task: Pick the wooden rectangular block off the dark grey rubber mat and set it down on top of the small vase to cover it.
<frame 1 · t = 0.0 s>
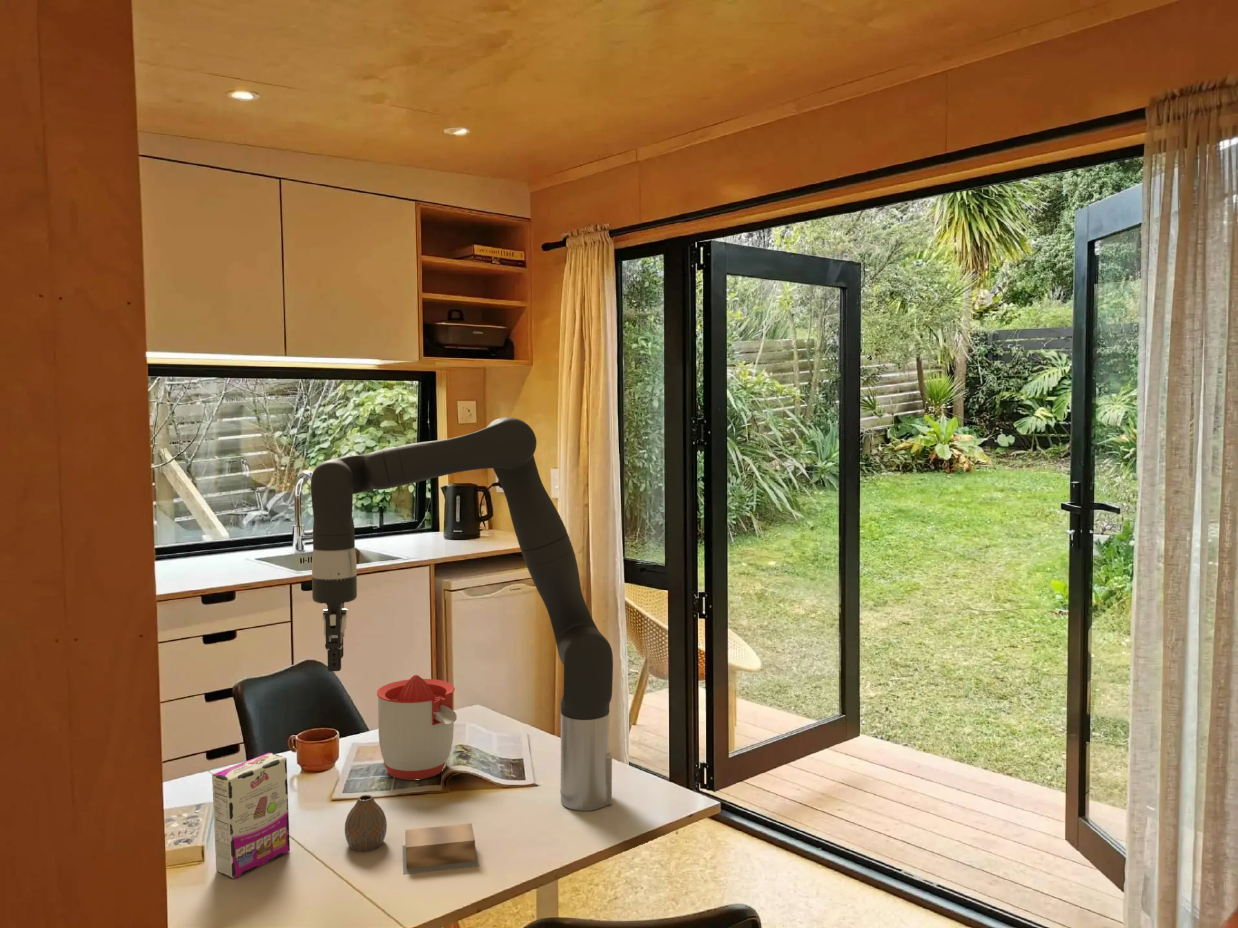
hand: (335, 664, 168), 29 cm above the table, tool pointing down, fingers open, 8 cm apart
vase: (366, 848, 162), on the table
wooden rectangular block: (439, 855, 158), point 1 cm above the table, touching rubber mat
rubber mat: (439, 858, 158), on the table
candy bar box: (252, 863, 157), on the table
citrus juicer: (419, 772, 195), on the table
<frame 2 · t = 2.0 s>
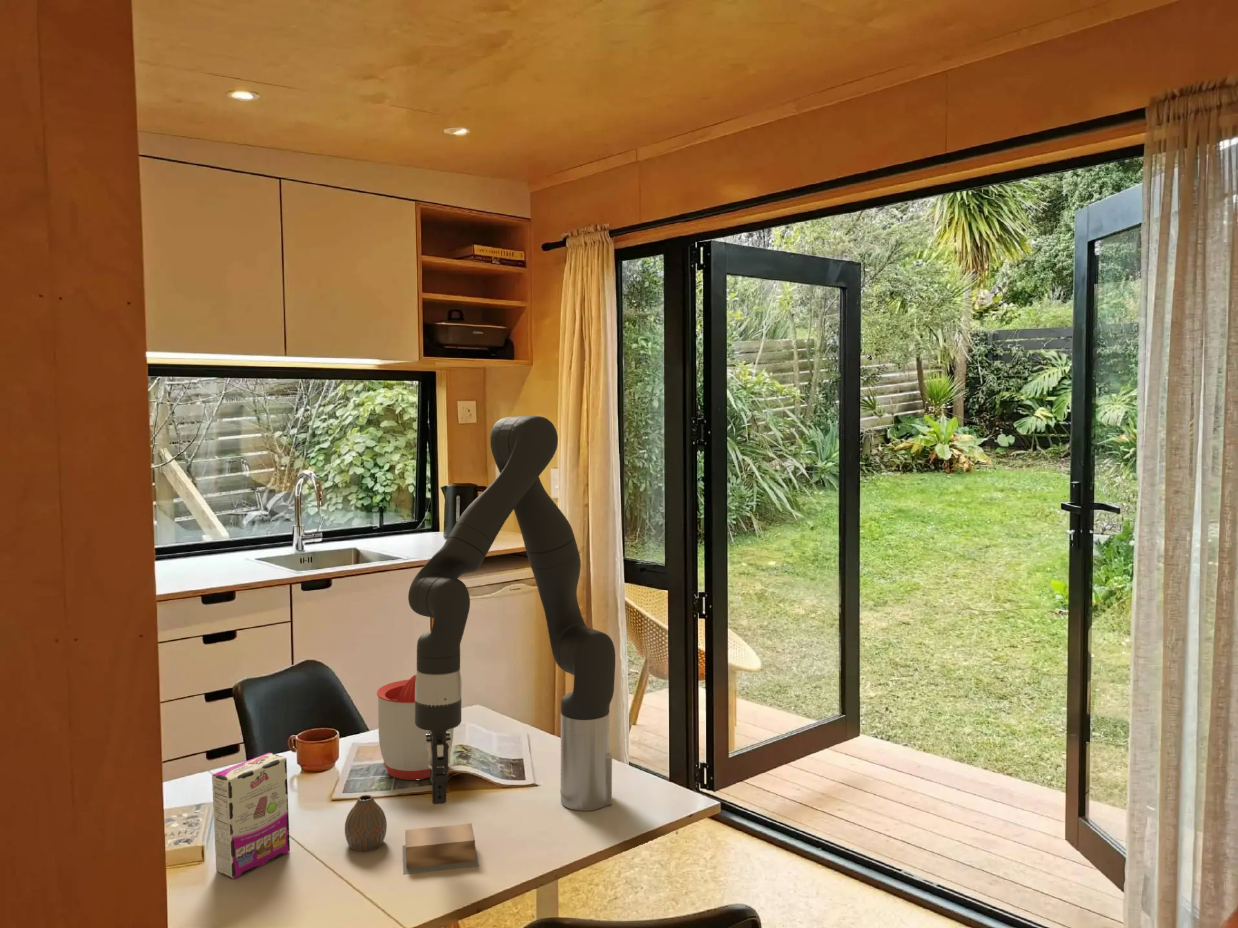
hand: (437, 792, 157), 11 cm above the table, tool pointing down, fingers open, 8 cm apart
nothing on the table moved.
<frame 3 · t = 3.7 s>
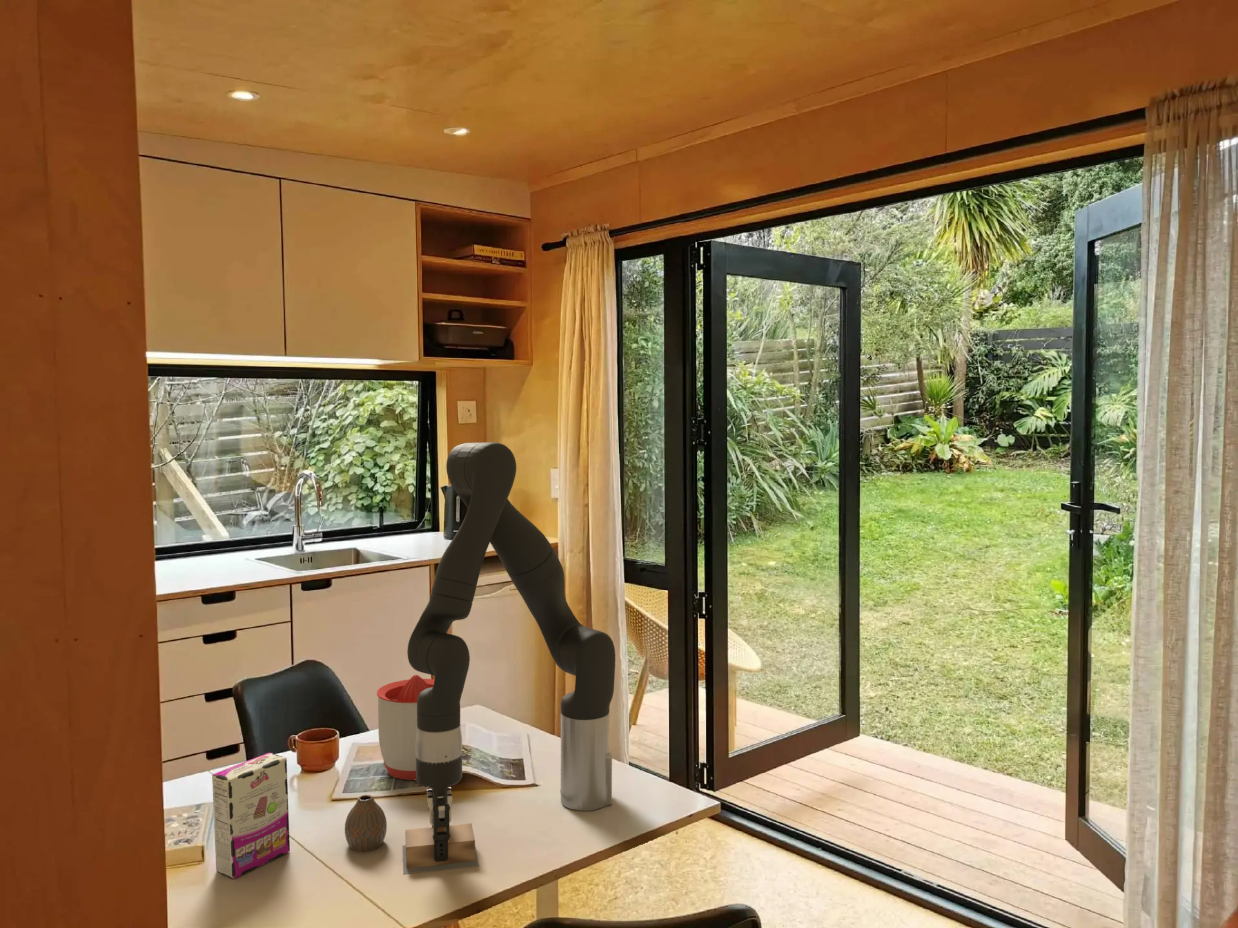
hand: (439, 850, 158), 1 cm above the table, tool pointing down, fingers closed on wooden rectangular block, 6 cm apart
wooden rectangular block: (439, 855, 158), point 1 cm above the table, touching gripper, rubber mat
everything else where it was.
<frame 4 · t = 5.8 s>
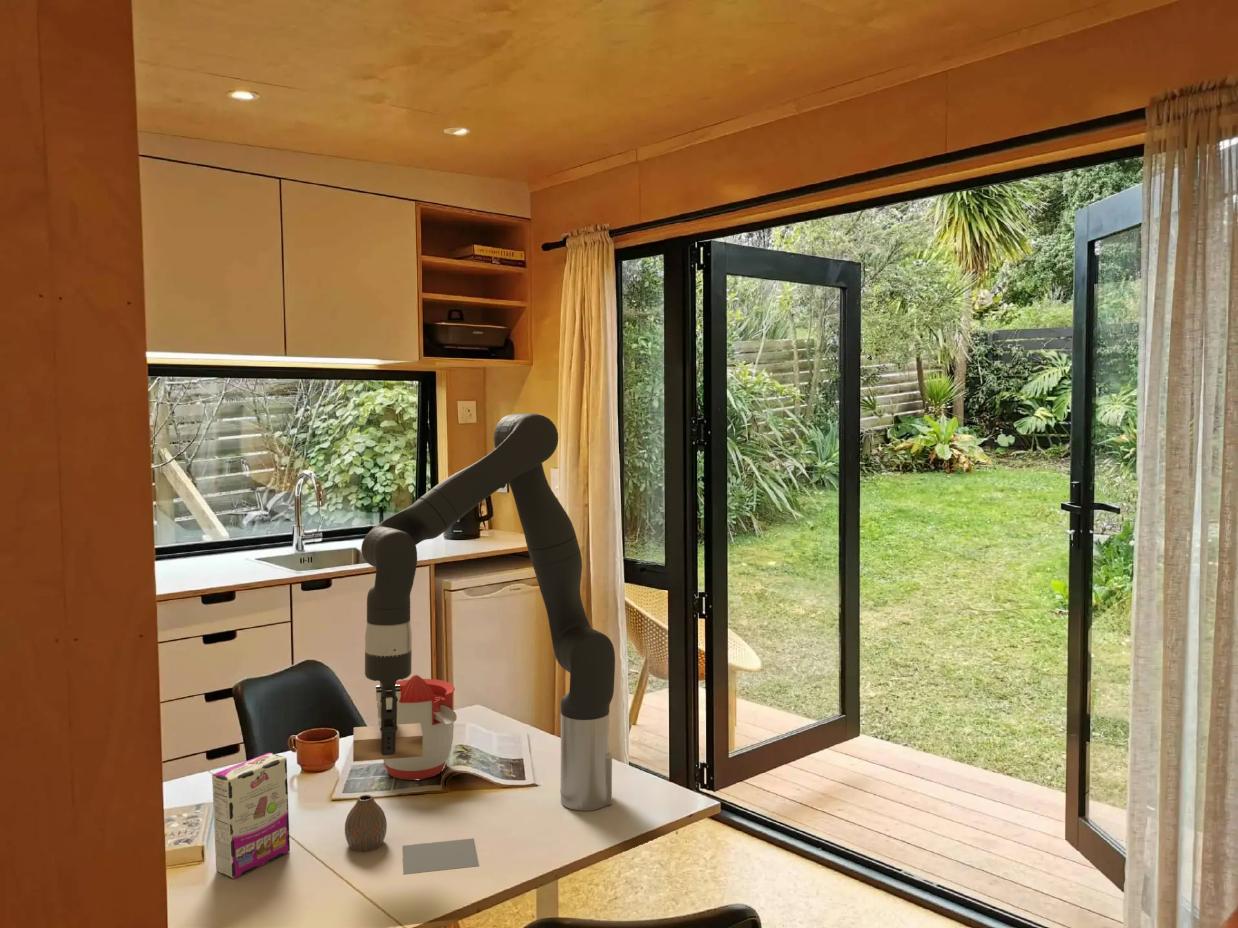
hand: (387, 746, 159), 18 cm above the table, tool pointing down, fingers closed on wooden rectangular block, 6 cm apart
wooden rectangular block: (387, 751, 159), point 17 cm above the table, touching gripper
everything else where it was.
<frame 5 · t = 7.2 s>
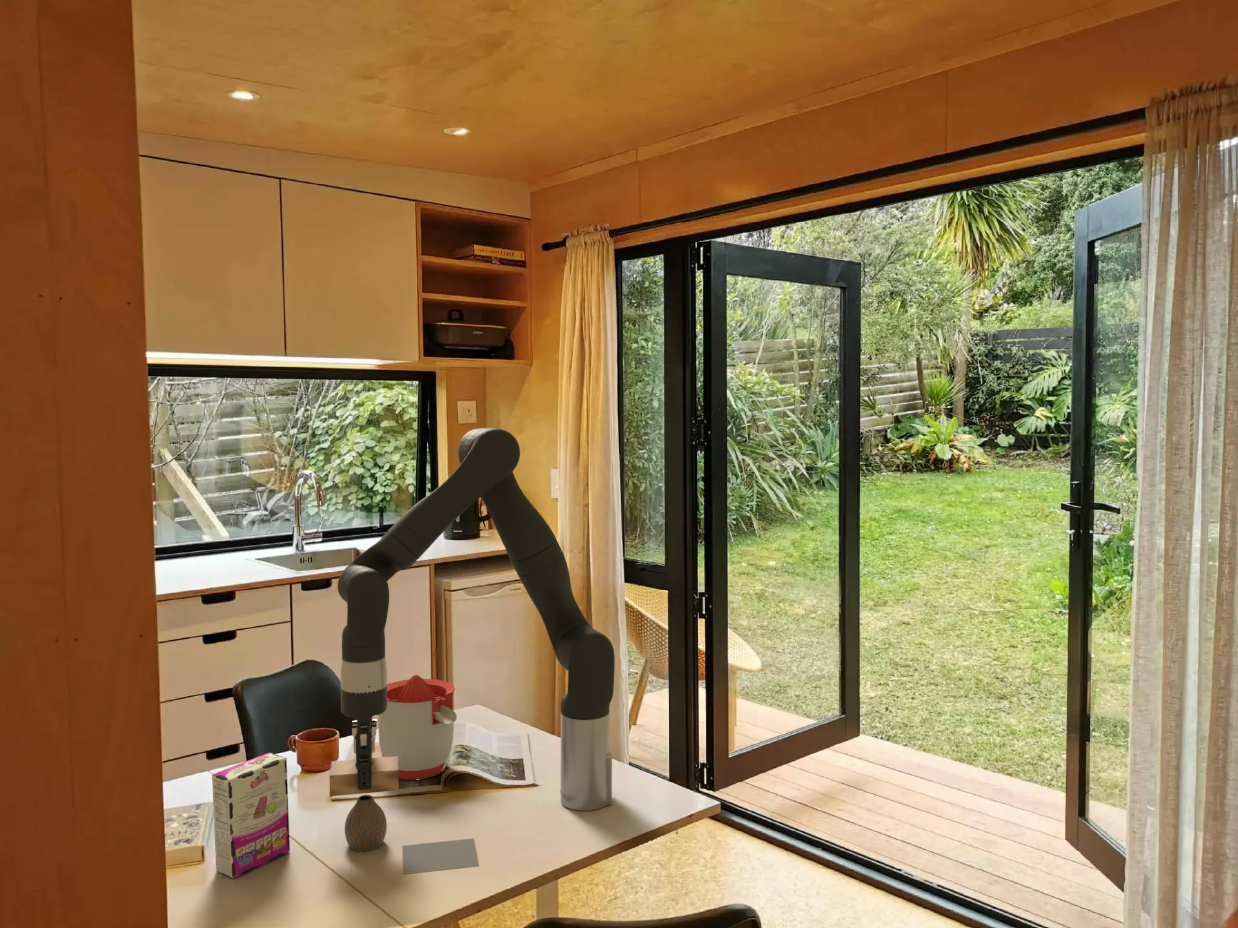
hand: (365, 780, 161), 12 cm above the table, tool pointing down, fingers closed on wooden rectangular block, 6 cm apart
wooden rectangular block: (364, 785, 161), point 11 cm above the table, touching gripper
everything else where it was.
when the fingers open (11 cm above the table, at t = 8.3 s): wooden rectangular block drops 1 cm, resting on vase.
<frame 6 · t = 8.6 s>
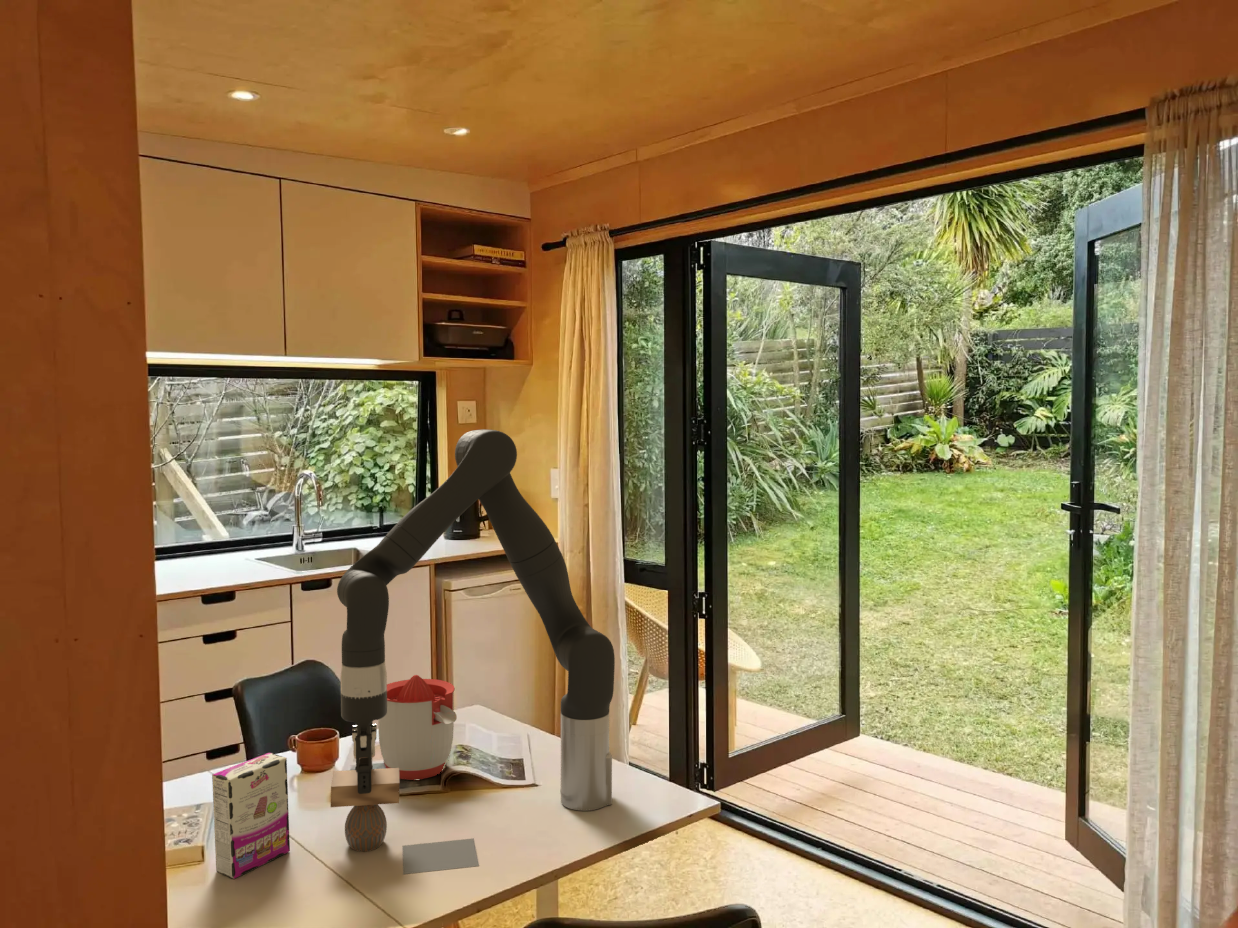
hand: (365, 782, 161), 11 cm above the table, tool pointing down, fingers open, 8 cm apart
vase: (366, 848, 162), on the table, touching wooden rectangular block
wooden rectangular block: (365, 796, 161), point 9 cm above the table, touching vase
everything else where it was.
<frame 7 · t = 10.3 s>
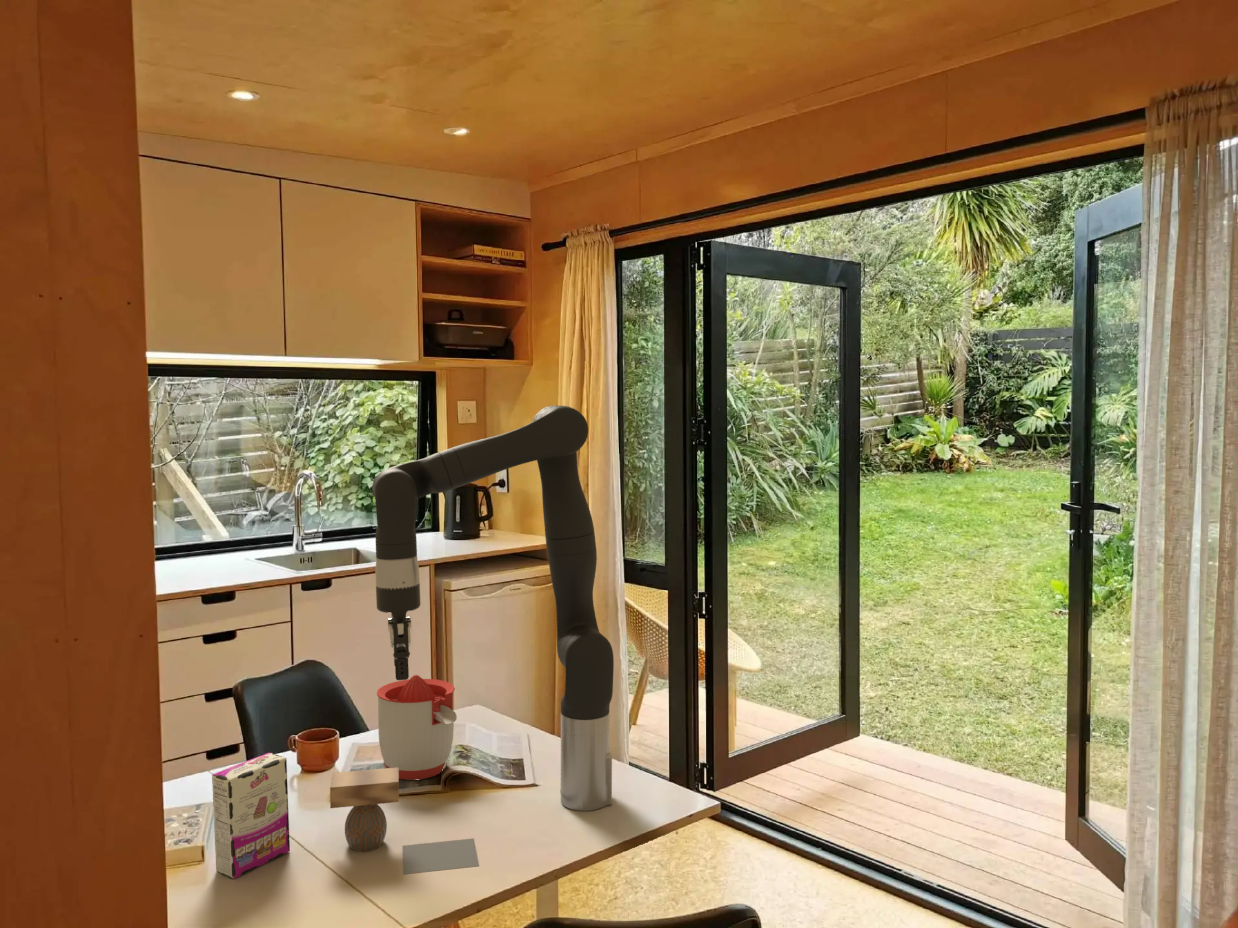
hand: (401, 672, 169), 28 cm above the table, tool pointing down, fingers open, 8 cm apart
nothing on the table moved.
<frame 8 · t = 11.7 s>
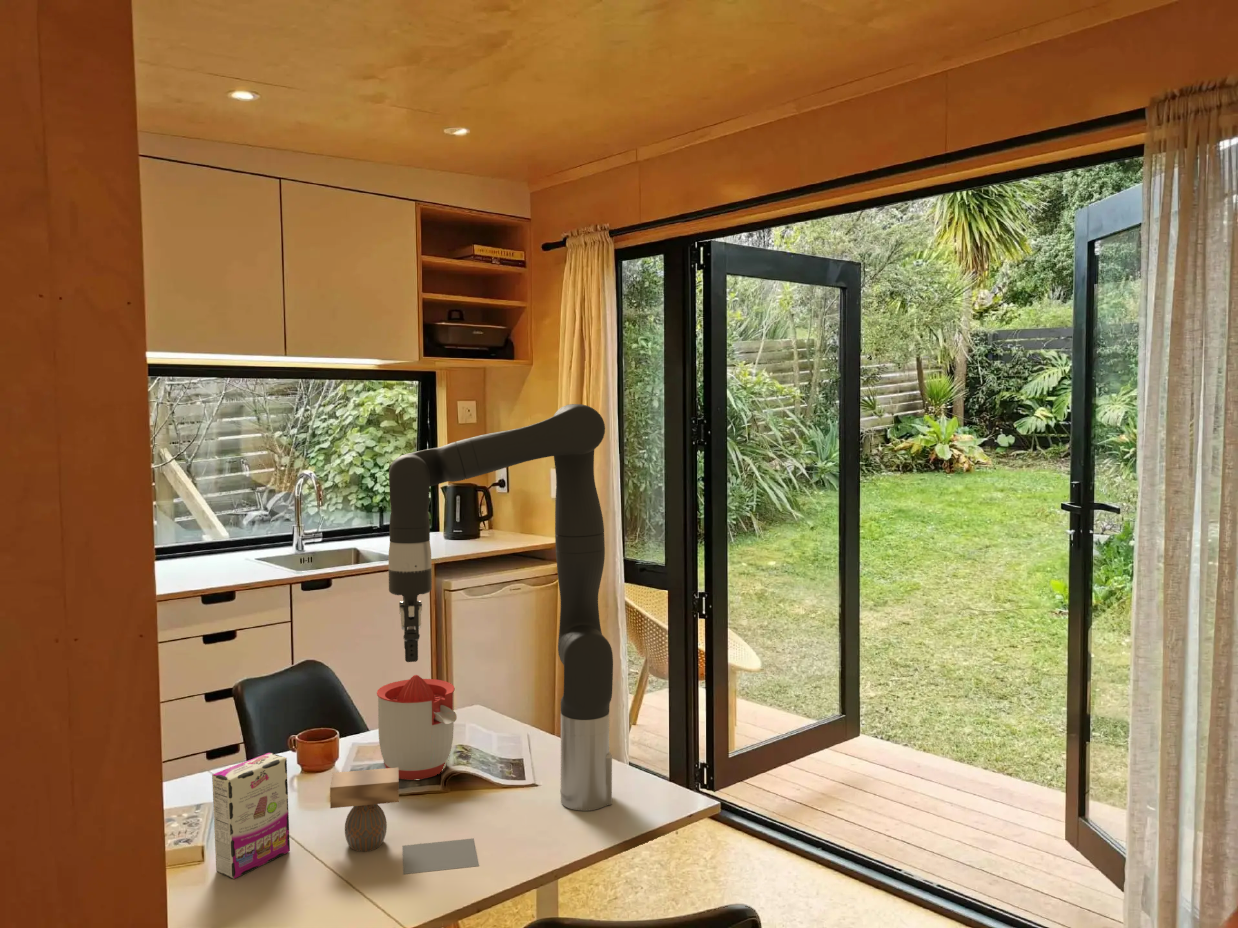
hand: (411, 655, 172), 30 cm above the table, tool pointing down, fingers open, 8 cm apart
nothing on the table moved.
at the end: wooden rectangular block 0.0 cm off-centre on the vase, point 9.0 cm above the vase's base; wooden rectangular block touching vase; wooden rectangular block tilted 0° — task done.
